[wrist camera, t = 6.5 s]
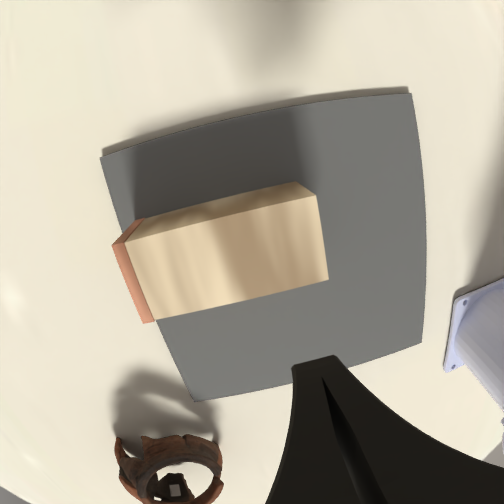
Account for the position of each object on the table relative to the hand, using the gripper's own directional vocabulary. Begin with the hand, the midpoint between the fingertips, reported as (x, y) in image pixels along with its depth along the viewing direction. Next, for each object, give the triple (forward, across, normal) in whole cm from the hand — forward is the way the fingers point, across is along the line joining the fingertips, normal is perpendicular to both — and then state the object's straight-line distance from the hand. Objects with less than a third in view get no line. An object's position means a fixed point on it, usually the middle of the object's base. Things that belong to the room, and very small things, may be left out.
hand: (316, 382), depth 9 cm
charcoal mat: (+10, -1, +1) cm, 10 cm away
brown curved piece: (+11, +13, +17) cm, 24 cm away
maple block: (+8, -2, -2) cm, 8 cm away
